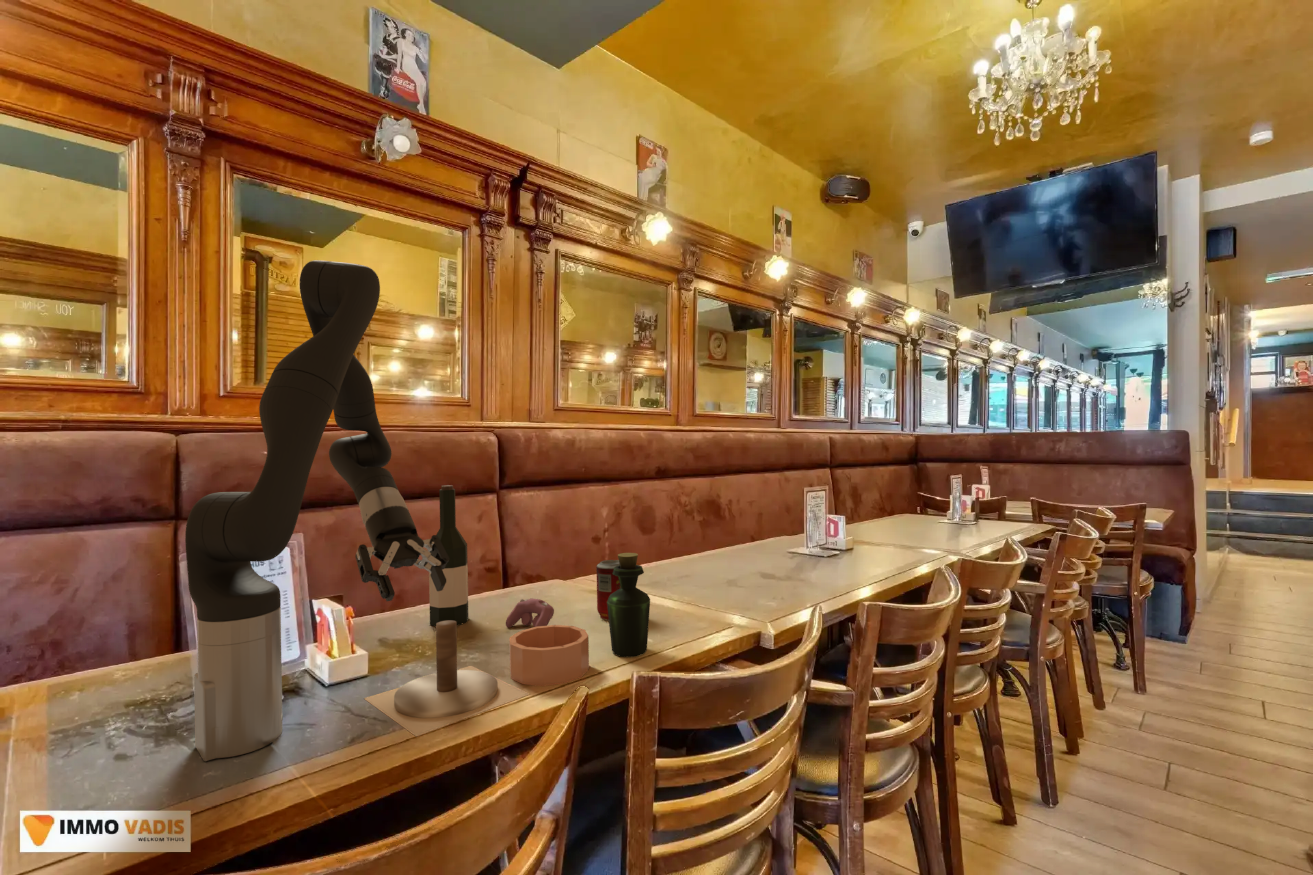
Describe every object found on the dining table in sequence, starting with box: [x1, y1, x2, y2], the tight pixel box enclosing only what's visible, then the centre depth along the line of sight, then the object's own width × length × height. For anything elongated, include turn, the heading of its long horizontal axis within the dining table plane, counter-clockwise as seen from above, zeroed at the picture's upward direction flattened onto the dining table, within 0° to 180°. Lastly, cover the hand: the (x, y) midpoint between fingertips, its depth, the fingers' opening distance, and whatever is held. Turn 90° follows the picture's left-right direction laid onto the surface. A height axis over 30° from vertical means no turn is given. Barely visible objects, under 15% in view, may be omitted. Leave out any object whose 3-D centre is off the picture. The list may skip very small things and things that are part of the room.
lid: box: [394, 620, 498, 718], centre depth 94 cm, size 15×15×11 cm
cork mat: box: [363, 665, 531, 738], centre depth 94 cm, size 18×18×1 cm
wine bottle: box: [428, 484, 469, 627], centre depth 134 cm, size 8×8×30 cm
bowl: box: [508, 624, 590, 687], centre depth 104 cm, size 13×13×6 cm
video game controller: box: [505, 597, 555, 628], centre depth 129 cm, size 10×5×7 cm, turn 58°
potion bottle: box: [607, 552, 651, 658], centre depth 113 cm, size 8×8×18 cm
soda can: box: [595, 559, 621, 621], centre depth 136 cm, size 7×7×12 cm
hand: (417, 593), depth 100 cm, fingers open, 8 cm apart
